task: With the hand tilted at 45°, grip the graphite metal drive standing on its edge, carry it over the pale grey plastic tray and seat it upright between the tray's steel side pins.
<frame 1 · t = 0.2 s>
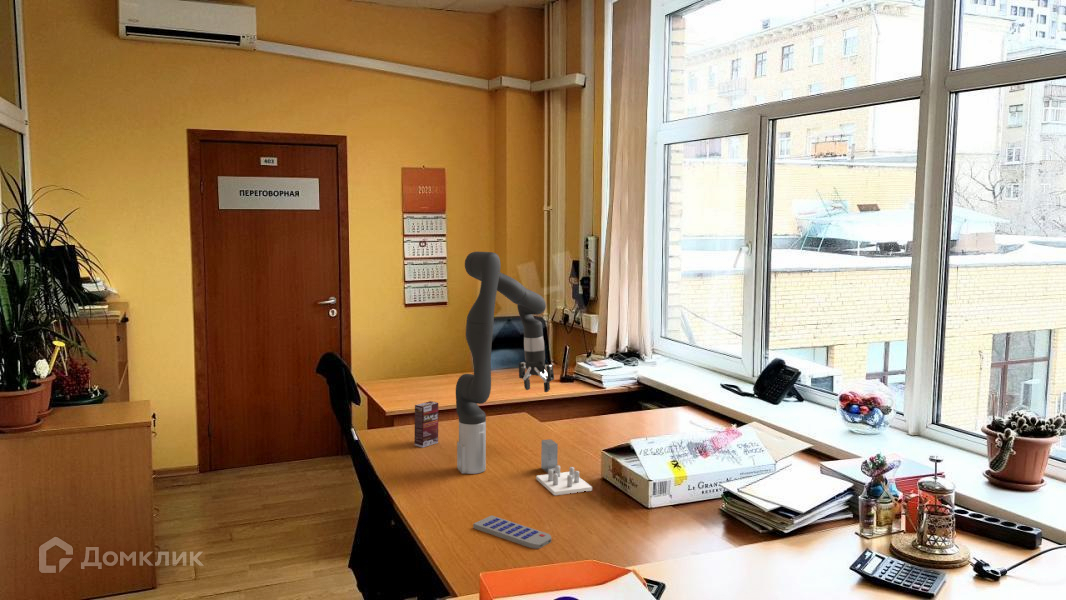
hand: (537, 390, 291), 22 cm above the table, tool pointing down, fingers open, 8 cm apart
drive: (549, 470, 269), on the table
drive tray: (563, 484, 254), on the table
supplement box: (426, 444, 297), on the table
remote control: (511, 536, 215), on the table
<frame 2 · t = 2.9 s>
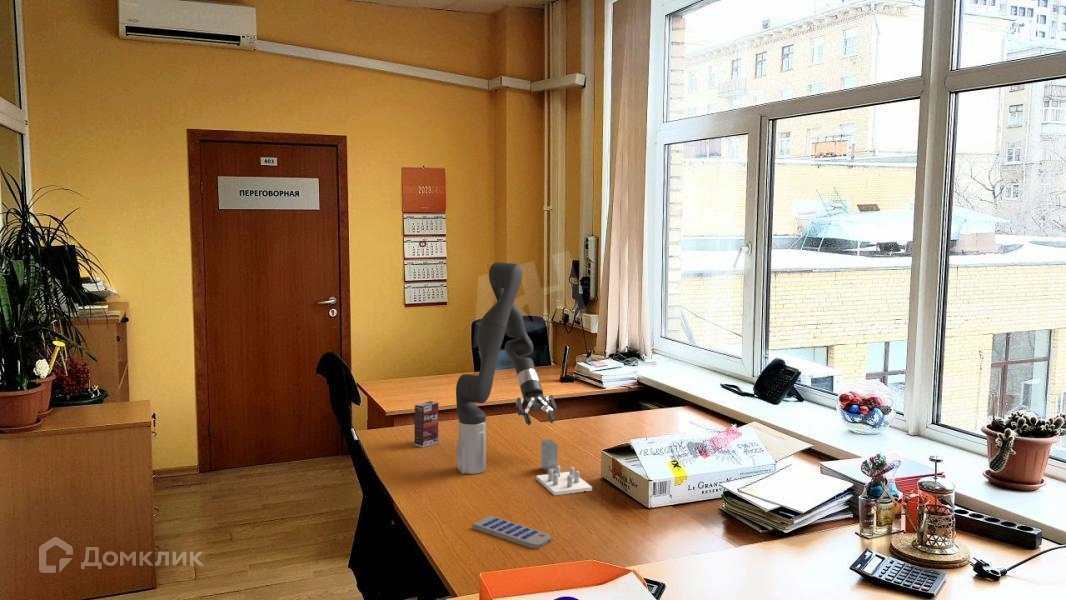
hand: (541, 423, 274), 15 cm above the table, tool tilted 45°, fingers open, 8 cm apart
nothing on the table moved.
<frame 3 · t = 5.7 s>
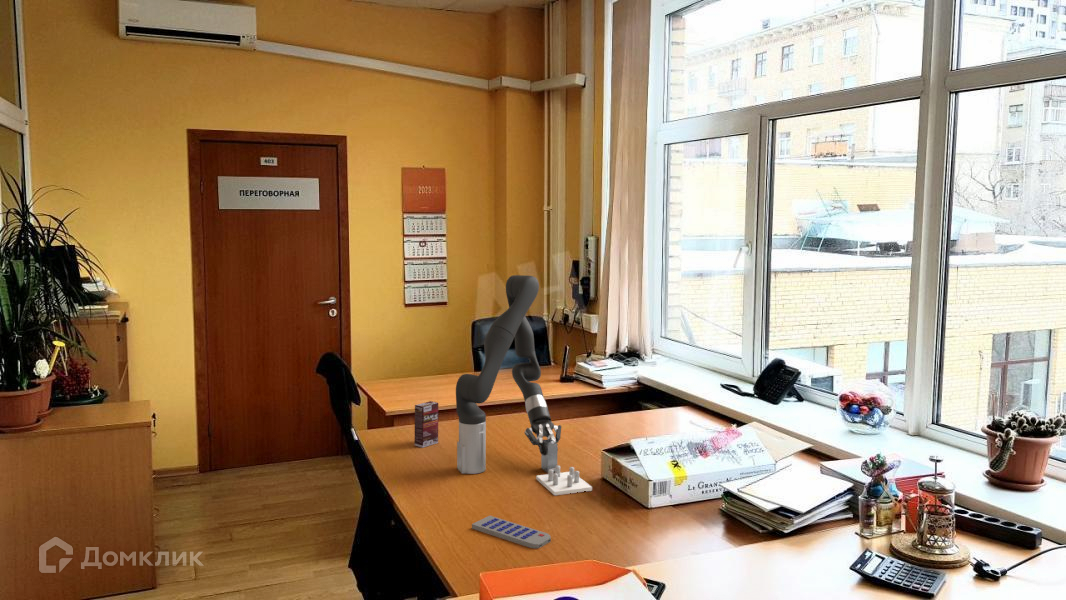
hand: (549, 453, 267), 6 cm above the table, tool tilted 45°, fingers closed on drive, 3 cm apart
drive: (549, 470, 269), on the table, touching gripper
everything else where it was.
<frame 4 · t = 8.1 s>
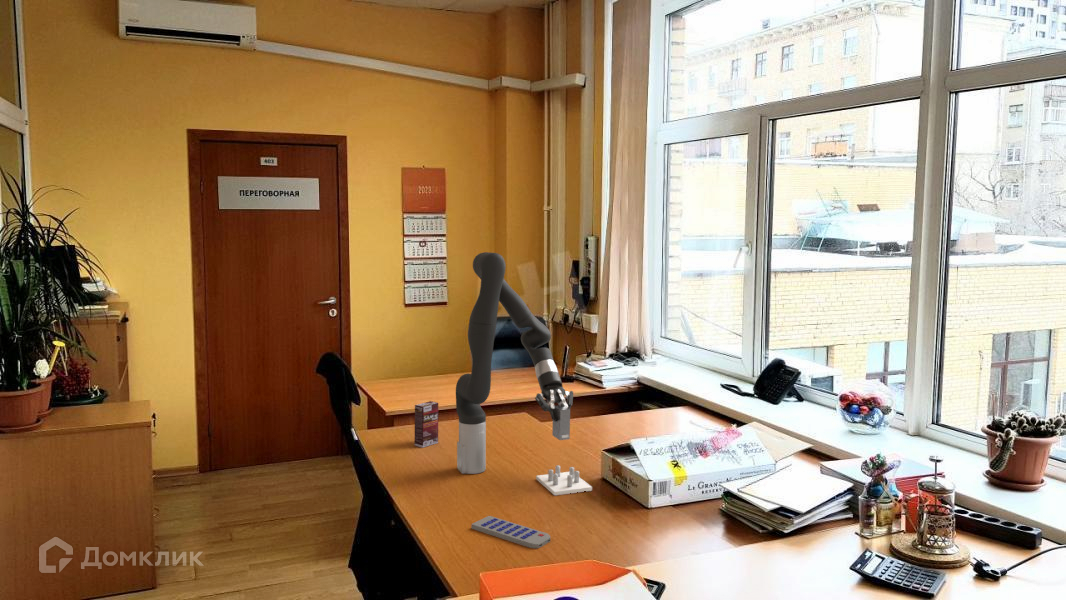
hand: (562, 419, 256), 21 cm above the table, tool tilted 45°, fingers closed on drive, 3 cm apart
drive: (560, 437, 257), point 15 cm above the table, touching gripper
everything else where it was.
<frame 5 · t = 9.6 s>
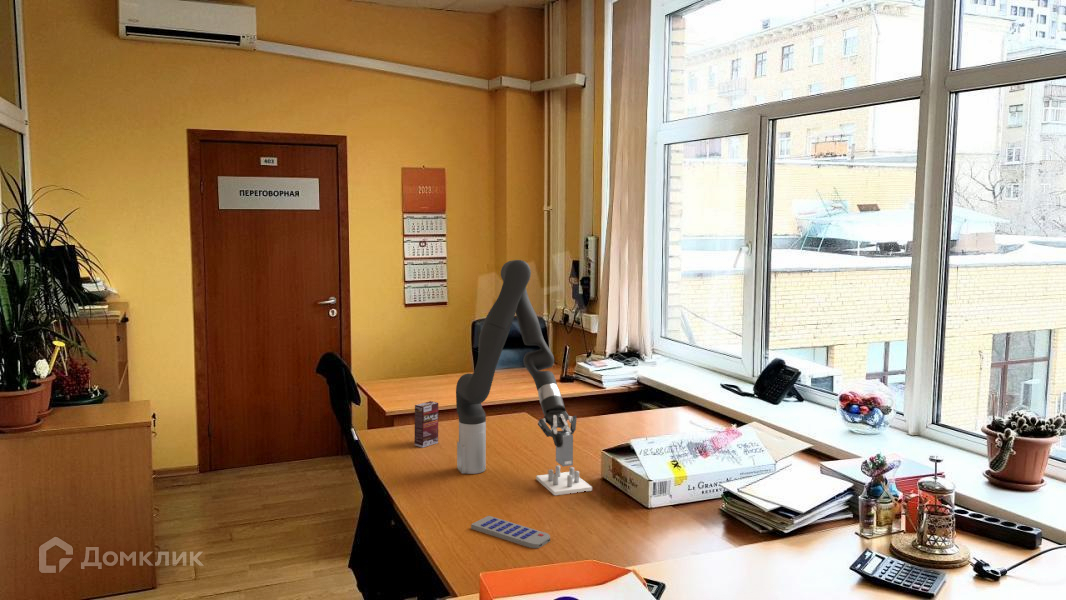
hand: (564, 445, 252), 13 cm above the table, tool tilted 45°, fingers closed on drive, 3 cm apart
drive: (564, 463, 254), point 7 cm above the table, touching gripper
everything else where it was.
when the fingers open (9 cm above the table, at t = 10.8 s): drive drops 1 cm, resting on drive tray.
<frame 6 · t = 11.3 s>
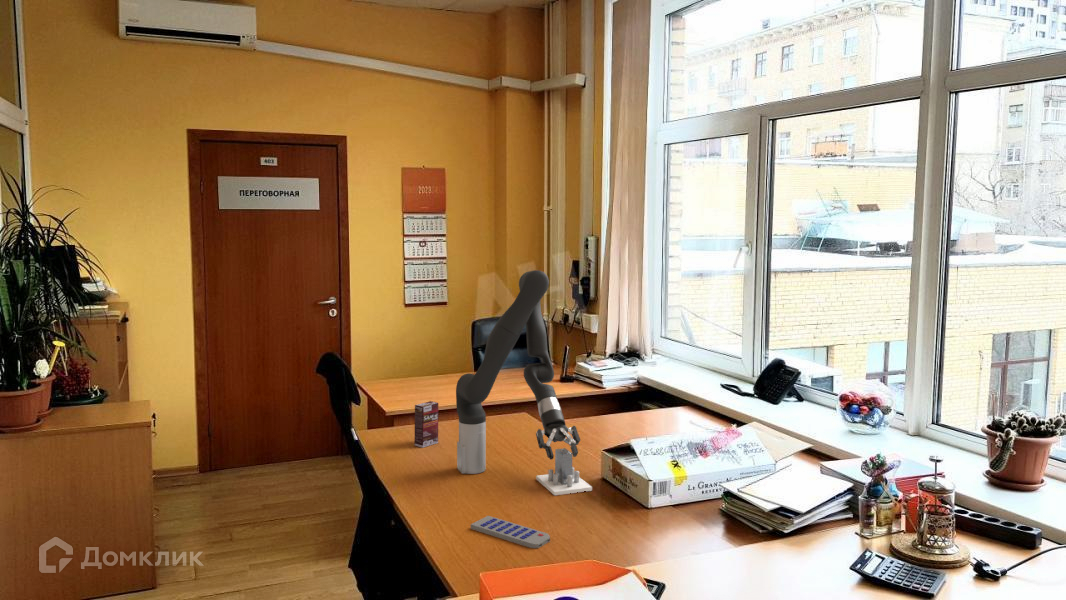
hand: (563, 457, 253), 9 cm above the table, tool tilted 45°, fingers open, 8 cm apart
drive: (563, 481, 254), point 1 cm above the table, touching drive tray
everything else where it was.
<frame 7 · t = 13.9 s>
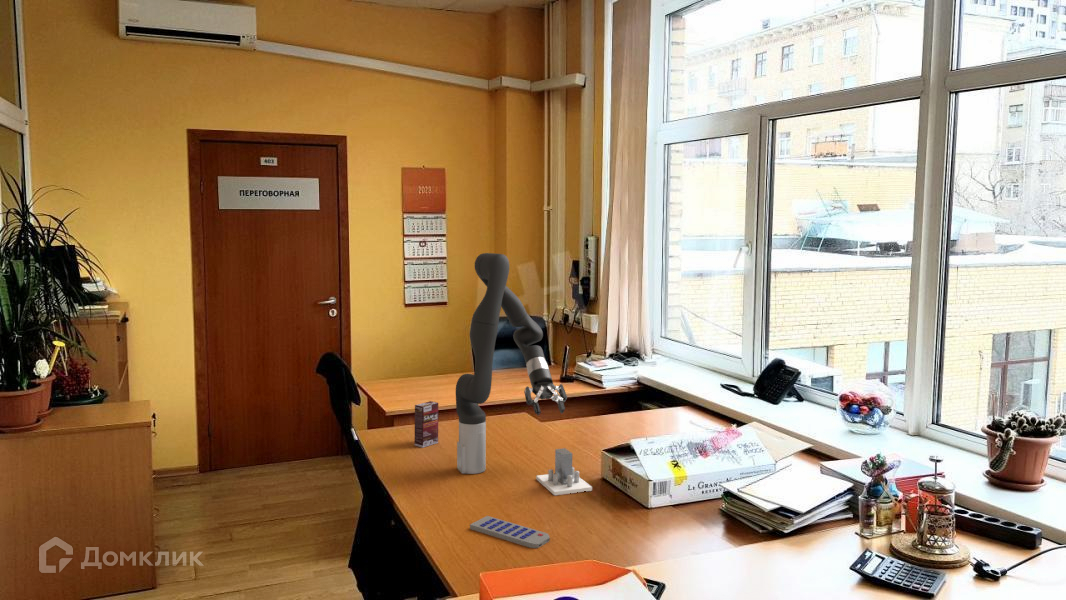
hand: (550, 413, 263), 21 cm above the table, tool tilted 45°, fingers open, 8 cm apart
nothing on the table moved.
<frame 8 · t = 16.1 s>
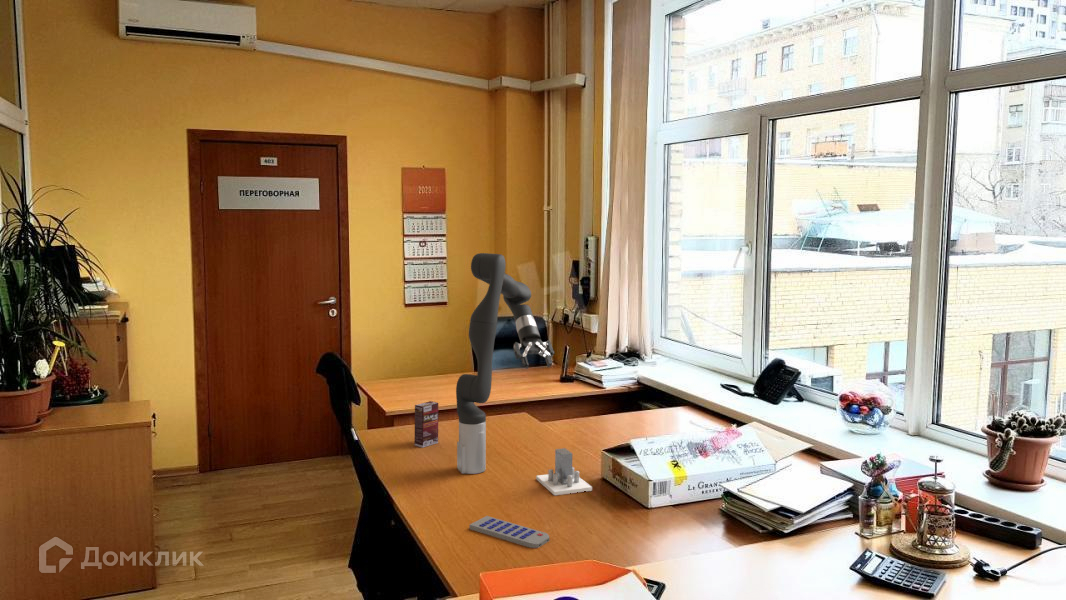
hand: (538, 366, 278), 34 cm above the table, tool tilted 45°, fingers open, 8 cm apart
nothing on the table moved.
at the end: drive 0.2 cm off-centre on the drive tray, point 1.2 cm above the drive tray's base; drive tilted 0°; the gripper is holding nothing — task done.
